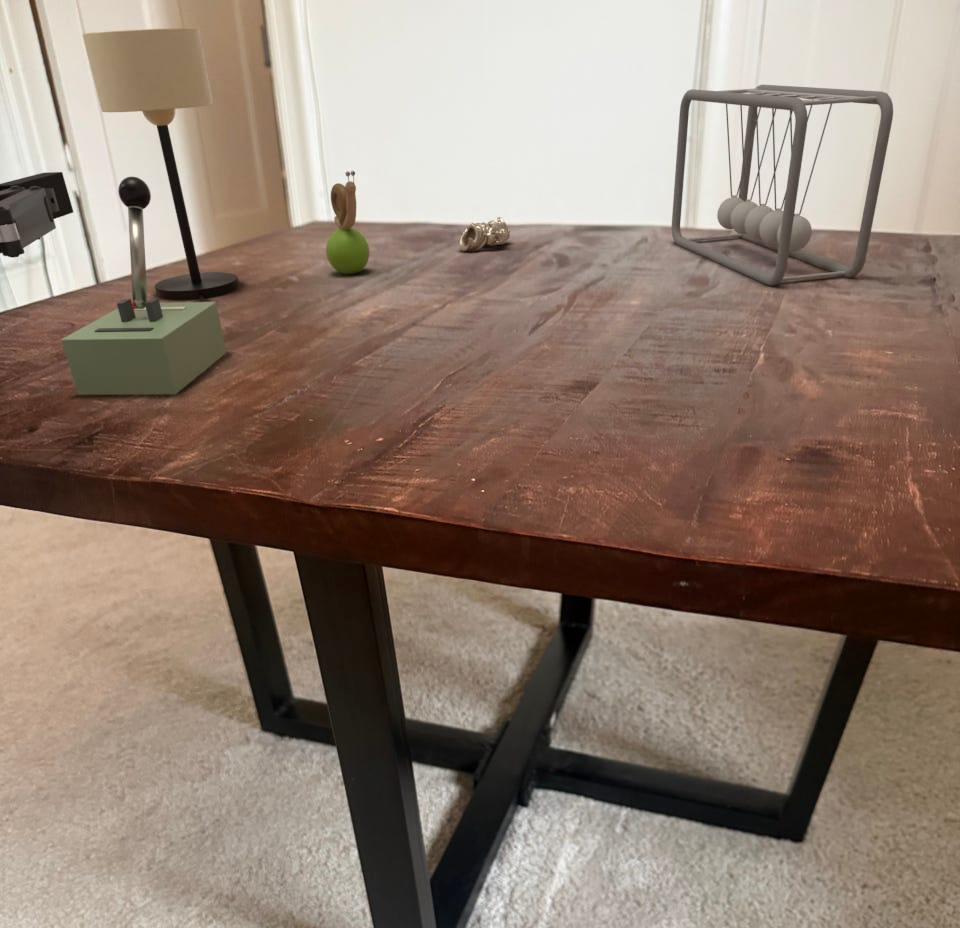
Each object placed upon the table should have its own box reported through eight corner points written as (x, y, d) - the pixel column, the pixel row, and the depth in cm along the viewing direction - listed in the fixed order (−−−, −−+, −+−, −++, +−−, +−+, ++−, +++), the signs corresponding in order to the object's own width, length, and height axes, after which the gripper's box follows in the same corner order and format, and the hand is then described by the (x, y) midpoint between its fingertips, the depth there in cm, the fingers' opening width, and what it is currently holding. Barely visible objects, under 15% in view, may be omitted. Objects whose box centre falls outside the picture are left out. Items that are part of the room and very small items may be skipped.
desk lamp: (143, 288, 111) (79, 35, 96) (237, 275, 114) (189, 30, 99) (164, 324, 95) (91, 29, 80) (272, 308, 99) (221, 23, 84)
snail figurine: (344, 282, 108) (330, 173, 101) (322, 274, 113) (307, 169, 106) (382, 275, 110) (371, 168, 104) (359, 267, 115) (347, 164, 108)
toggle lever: (146, 305, 75) (140, 171, 73) (118, 305, 76) (111, 172, 74) (161, 311, 78) (155, 182, 76) (134, 312, 78) (127, 183, 76)
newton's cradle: (863, 281, 96) (900, 91, 86) (775, 290, 94) (802, 98, 84) (740, 235, 120) (757, 83, 110) (669, 242, 119) (680, 88, 109)
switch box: (176, 397, 74) (156, 318, 71) (78, 397, 76) (54, 319, 72) (227, 355, 84) (212, 283, 80) (140, 356, 85) (121, 285, 82)
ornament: (484, 256, 117) (483, 227, 115) (450, 251, 121) (448, 222, 119) (525, 246, 121) (525, 217, 119) (491, 241, 125) (490, 213, 123)
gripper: (-246, 336, 49) (-4, 248, 68) (-34, 334, 47) (154, 245, 66) (-323, 186, 44) (-41, 138, 64) (-92, 178, 43) (126, 131, 62)
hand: (58, 192), depth 65 cm, fingers closed
